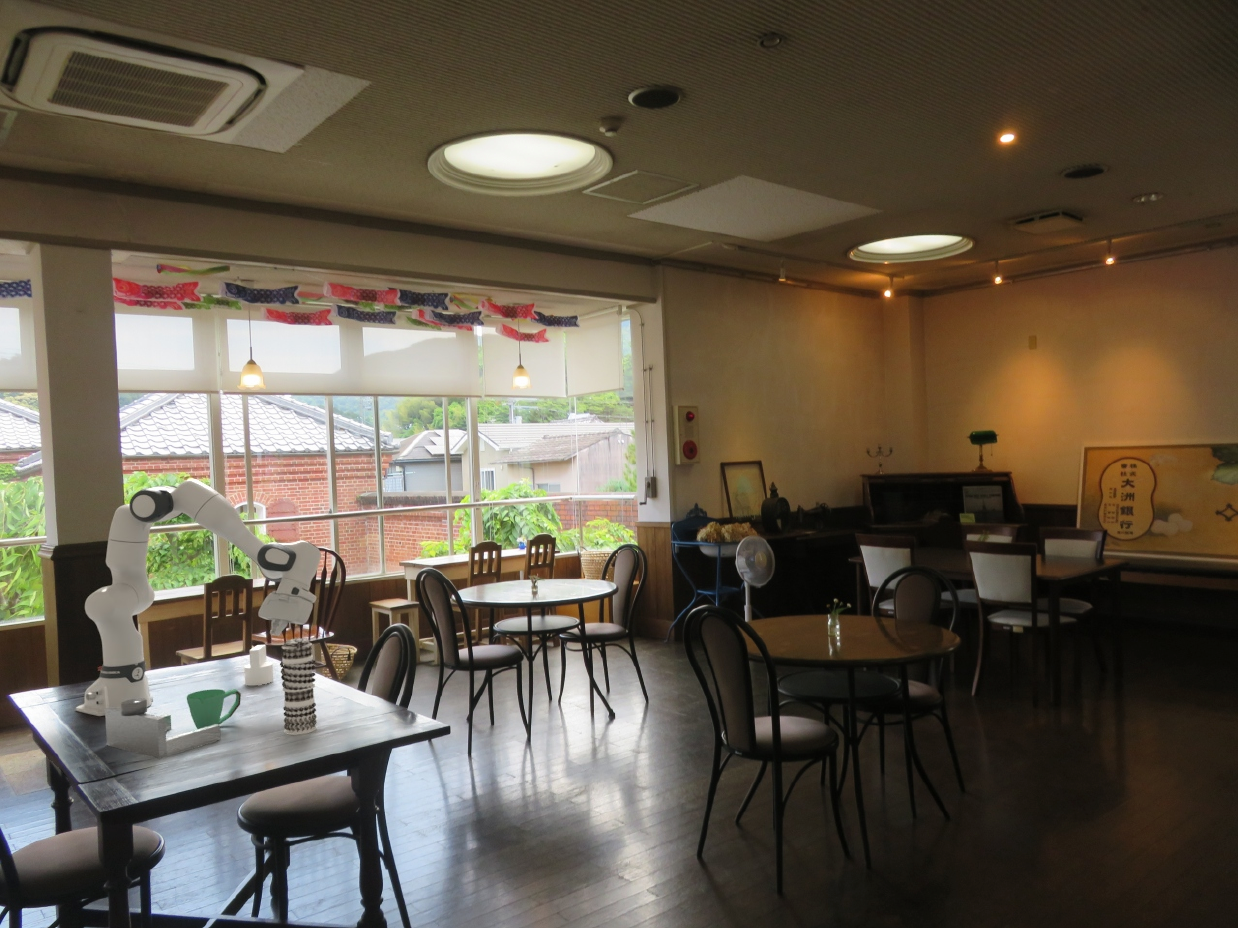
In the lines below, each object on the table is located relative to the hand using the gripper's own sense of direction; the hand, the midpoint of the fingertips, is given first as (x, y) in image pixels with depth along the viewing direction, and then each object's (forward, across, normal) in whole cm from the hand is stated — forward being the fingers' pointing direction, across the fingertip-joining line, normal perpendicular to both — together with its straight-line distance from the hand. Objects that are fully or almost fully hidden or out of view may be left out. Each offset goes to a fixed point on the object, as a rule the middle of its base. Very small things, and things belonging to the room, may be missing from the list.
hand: (274, 635), depth 275 cm
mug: (+30, +2, -8) cm, 31 cm away
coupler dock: (+37, +3, -23) cm, 44 cm away
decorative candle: (+25, +28, 0) cm, 37 cm away
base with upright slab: (+12, -34, +26) cm, 45 cm away
